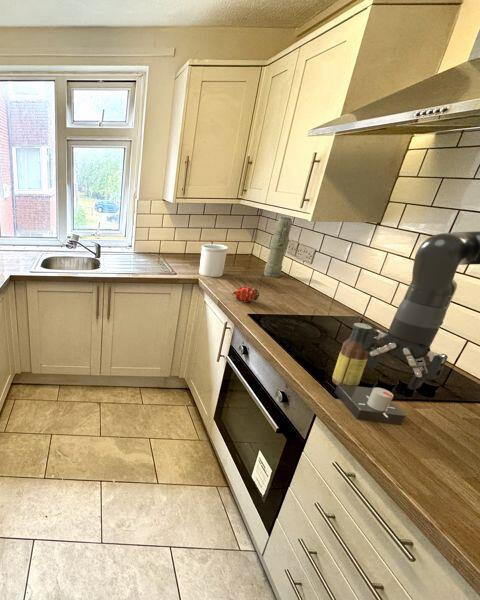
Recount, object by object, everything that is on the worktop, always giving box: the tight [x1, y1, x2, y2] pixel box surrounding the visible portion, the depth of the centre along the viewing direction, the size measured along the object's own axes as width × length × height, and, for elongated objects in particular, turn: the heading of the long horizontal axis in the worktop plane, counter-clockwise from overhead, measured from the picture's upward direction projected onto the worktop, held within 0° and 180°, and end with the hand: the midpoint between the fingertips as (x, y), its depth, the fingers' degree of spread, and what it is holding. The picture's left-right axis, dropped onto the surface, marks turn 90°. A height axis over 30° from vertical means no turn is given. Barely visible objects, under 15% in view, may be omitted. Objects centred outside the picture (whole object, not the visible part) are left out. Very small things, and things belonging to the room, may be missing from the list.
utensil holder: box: [198, 243, 229, 278], centre depth 195 cm, size 15×15×18 cm
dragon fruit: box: [232, 285, 260, 304], centre depth 155 cm, size 8×8×12 cm
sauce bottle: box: [332, 322, 373, 387], centre depth 92 cm, size 7×6×20 cm
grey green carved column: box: [263, 216, 293, 279], centre depth 189 cm, size 9×12×35 cm
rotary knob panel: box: [334, 384, 406, 426], centre depth 85 cm, size 10×13×3 cm
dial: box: [367, 386, 394, 412], centre depth 82 cm, size 4×4×5 cm
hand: (390, 377), depth 79 cm, fingers open, 8 cm apart
